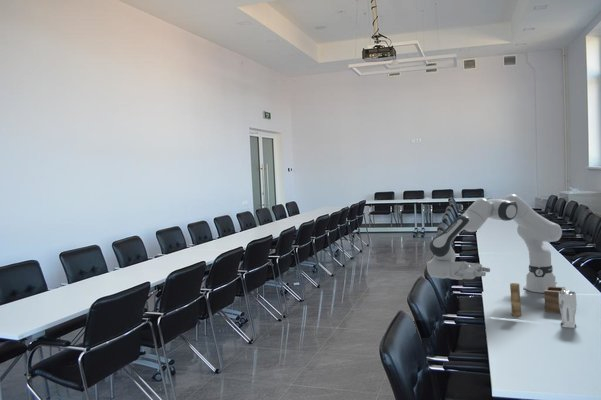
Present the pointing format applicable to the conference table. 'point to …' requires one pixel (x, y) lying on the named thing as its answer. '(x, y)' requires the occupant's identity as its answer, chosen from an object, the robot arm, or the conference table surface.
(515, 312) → the dowel
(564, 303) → the beer glass
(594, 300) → the conference table surface
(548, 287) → the socket block
